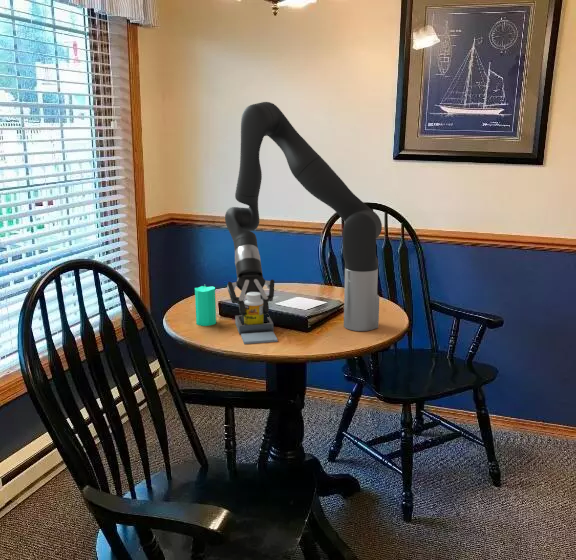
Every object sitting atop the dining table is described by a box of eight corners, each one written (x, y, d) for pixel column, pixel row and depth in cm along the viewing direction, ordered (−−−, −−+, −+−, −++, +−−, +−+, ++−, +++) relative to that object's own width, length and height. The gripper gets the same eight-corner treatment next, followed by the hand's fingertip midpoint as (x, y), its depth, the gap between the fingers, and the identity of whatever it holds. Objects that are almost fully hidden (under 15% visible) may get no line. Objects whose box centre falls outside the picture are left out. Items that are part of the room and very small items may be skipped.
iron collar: (267, 321, 175) (267, 313, 174) (273, 332, 166) (273, 323, 165) (235, 323, 173) (235, 315, 172) (239, 334, 164) (239, 325, 163)
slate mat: (273, 333, 165) (273, 331, 164) (277, 341, 158) (277, 339, 158) (241, 335, 163) (241, 333, 163) (244, 344, 157) (244, 341, 156)
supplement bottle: (240, 329, 168) (239, 294, 166) (251, 323, 173) (250, 290, 171) (257, 332, 166) (256, 297, 163) (267, 326, 170) (267, 292, 168)
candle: (220, 321, 175) (219, 282, 172) (206, 327, 170) (205, 286, 167) (205, 318, 178) (204, 279, 175) (191, 323, 174) (189, 283, 171)
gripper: (224, 257, 170) (230, 309, 162) (273, 255, 173) (281, 306, 165) (223, 271, 177) (228, 321, 168) (270, 269, 180) (278, 318, 171)
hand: (254, 313), depth 167 cm, fingers closed on supplement bottle, 5 cm apart
